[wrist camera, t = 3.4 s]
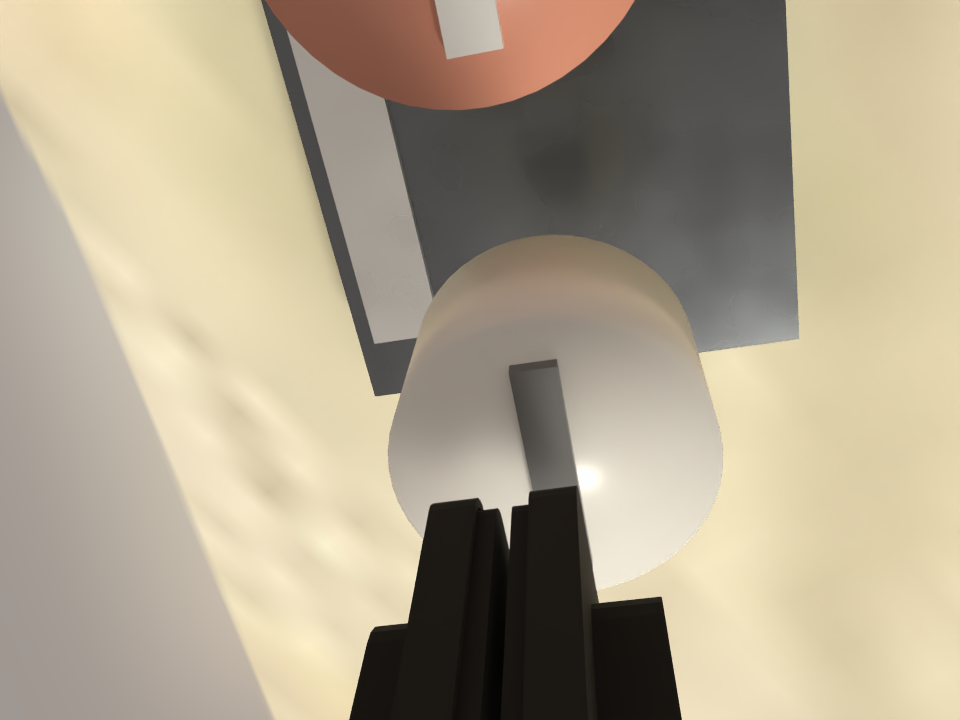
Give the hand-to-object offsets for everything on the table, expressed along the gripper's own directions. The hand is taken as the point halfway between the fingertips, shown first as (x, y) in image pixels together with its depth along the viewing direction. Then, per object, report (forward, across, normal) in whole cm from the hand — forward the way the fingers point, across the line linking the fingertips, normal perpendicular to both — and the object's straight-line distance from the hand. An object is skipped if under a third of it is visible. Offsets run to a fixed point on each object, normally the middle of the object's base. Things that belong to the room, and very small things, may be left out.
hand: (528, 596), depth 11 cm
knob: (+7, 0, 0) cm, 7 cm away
